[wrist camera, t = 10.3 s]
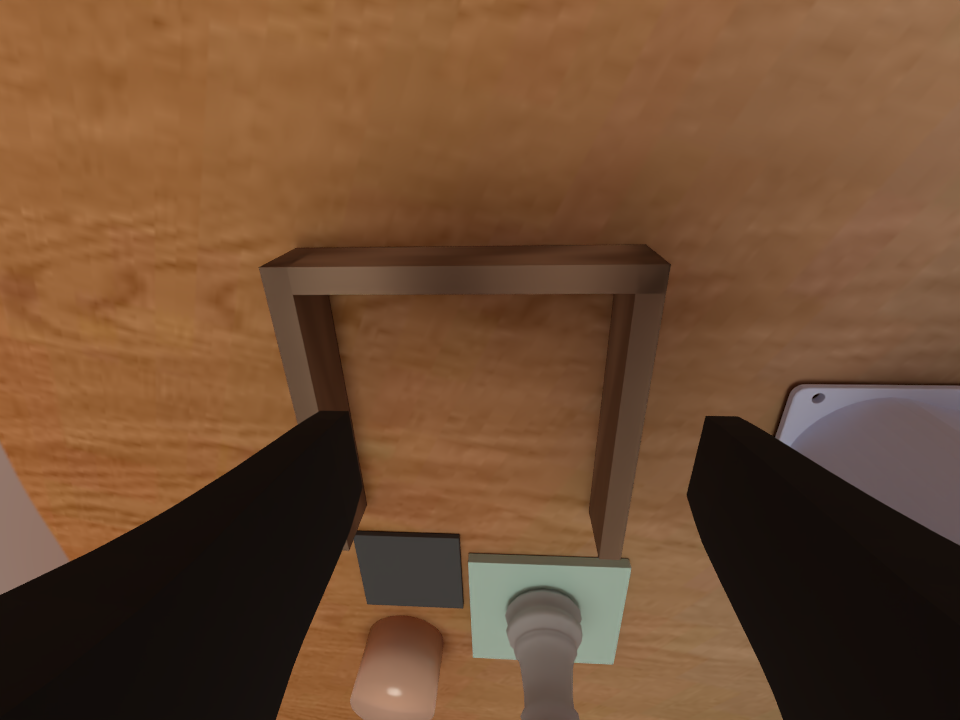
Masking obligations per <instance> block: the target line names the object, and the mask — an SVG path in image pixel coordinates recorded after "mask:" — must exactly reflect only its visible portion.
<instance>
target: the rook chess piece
mask: <svg viewBox="0 0 960 720" xmlns="http://www.w3.org/2000/svg"><path fill="white" fill-rule="evenodd" d="M505 618H506V621H507V625H508V626H507V629H506V633H507V636H508V640H509V643H510V646H511V647H512V648H513V649H514V654H515V657H516V659H517V660H518V661H519V663H520V667H521V674H522V681H523V688H524V702H525V708H524V710H523V712H522V714H521V719H522V720H579V715H578V713H577V712H576V710H575V709H574V704H573V664H574V661H575V659H576V657H577V655H578V654H577V650H578V648H579V646H580V644H581V642H582V636H583V634H582V628H581V625H580V622H581V620H582V618H581V613H580V609H579V608H578V607H577V606H576V605H575V604H574V603H573V601H572V600H571V599H570V598H569V597H568V596H566V595H564V594H562V593H560V592H558V591H555V590H549V589H534V590H529V591H527V592H524V593H522V594H520V595H519V596H518V597H517V598H515V599H514V600H513V601H512V603H511V604H510V605H509V606H508V608H507V611H506V614H505Z"/></svg>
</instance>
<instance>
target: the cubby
mask: <svg viewBox="0 0 960 720" xmlns="http://www.w3.org/2000/svg"><path fill="white" fill-rule="evenodd" d="M670 266H671V264H670V263H668V262H667V261H666V260H665V259H663V258H662V257H661V256H660V255H658V254H657V253H656V252H655V251H653V250H652V249H651V248H650V247H648V246H647V245H555V246H458V247H361V248H295V249H293V250H291V251H289V252H288V253H286V254H284V255H282V256H280V257H278V258H276V259H274V260H272V261H270V262H268V263H266V264H265V265H263V266H261V267H259V270H260V274H261V278H262V282H263V286H264V290H265V294H266V298H267V302H268V306H269V310H270V314H271V318H272V322H273V326H274V330H275V334H276V338H277V342H278V346H279V350H280V354H281V359H282V363H283V367H284V371H285V375H286V379H287V383H288V387H289V391H290V395H291V399H292V403H293V407H294V411H295V415H296V419H297V423H298V424H300V423H301V422H303V421H304V420H306V419H307V418H309V417H310V416H312V415H314V414H315V413H317V412H319V411H349V405H348V400H347V394H346V389H345V383H344V378H343V372H342V367H341V362H340V356H339V351H338V345H337V340H336V334H335V329H334V323H333V318H332V312H331V307H330V302H329V296H328V295H413V294H614V299H613V308H612V316H611V325H610V334H609V342H608V351H607V360H606V368H605V377H604V386H603V394H602V403H601V411H600V420H599V429H598V437H597V446H596V455H595V463H594V472H593V481H592V489H591V498H590V507H589V514H590V519H591V524H592V528H593V533H594V538H595V543H596V548H597V552H598V557H599V559H603V560H621V555H622V549H623V543H624V537H625V531H626V525H627V520H628V514H629V508H630V502H631V496H632V490H633V484H634V478H635V472H636V466H637V461H638V455H639V449H640V443H641V437H642V431H643V425H644V419H645V413H646V408H647V402H648V396H649V390H650V384H651V378H652V372H653V366H654V360H655V355H656V349H657V343H658V337H659V331H660V325H661V319H662V313H663V307H664V301H665V296H666V290H667V284H668V278H669V272H670ZM349 415H350V411H349ZM350 421H351V416H350ZM351 426H352V422H351ZM352 432H353V427H352ZM353 437H354V432H353ZM354 442H355V438H354ZM355 448H356V443H355ZM356 453H357V449H356ZM357 459H358V454H357ZM358 464H359V460H358ZM359 470H360V465H359ZM360 475H361V471H360ZM361 480H362V476H361ZM362 486H363V482H362ZM366 506H367V503H366V498H365V492H364V487H363V488H362V491H361V495H360V499H359V502H358V506H357V510H356V513H355V517H354V520H353V523H352V527H351V530H350V533H349V535H348V538H347V540H346V543H345V545H344V547H343V550H346V551H349V550H350V547H351V545H352V542H353V539H354V537H355V534H356V532H357V529H358V527H359V524H360V521H361V519H362V516H363V514H364V511H365V509H366Z"/></svg>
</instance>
